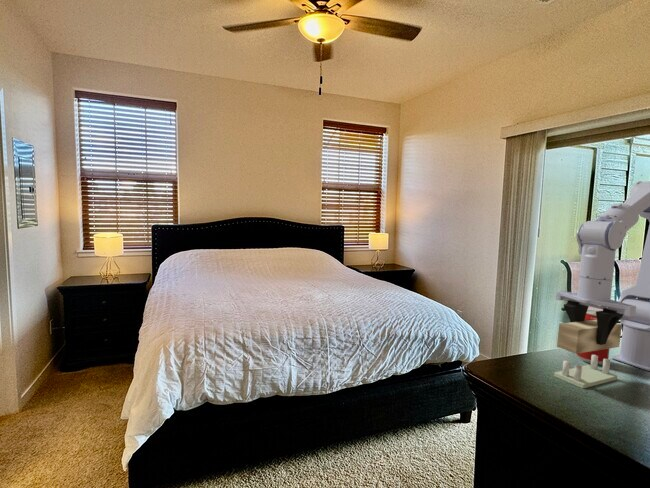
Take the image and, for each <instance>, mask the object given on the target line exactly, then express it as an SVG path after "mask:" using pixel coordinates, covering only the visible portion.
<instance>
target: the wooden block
mask: <svg viewBox="0 0 650 488" xmlns="http://www.w3.org/2000/svg"><path fill="white" fill-rule="evenodd" d="M622 329H623V324H620V323H619V322H617V323H616V325H615V326H614V328H613V329H612V331H611V333H610V335H609V337H608V339H607V342H606V344H603V345H599V344H597V341H596V339H597V330H598V325H597V320H589V321H580V322H564V323H559V324H558V332H557V333H558V335H557V342H556V343H557V344H556V347H557V348H559V349H562V350H565V351H567V352H570V353H572V354H575V355H577V354H578V353H584V352H590V351H597V350H603V349H609V350H610V349H615V348H620V345H621V343H620V341H621V337H622V334H621V333H622Z"/></svg>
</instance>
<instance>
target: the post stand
mask: <svg viewBox="0 0 650 488" xmlns="http://www.w3.org/2000/svg"><path fill="white" fill-rule="evenodd" d="M597 364H598V356H597V355H592V357H591V363H590V364H586V365H580V364H579V365H578V364H575V365H574V367H573V368H571V367H570V366H571V361H568V360H563V362H562V370H559V371H555V372H554V373H553V377H555V378H558V379H560V380H562V381H564V382H566V383H567V382H568V383H569V384H572V385H574V386H575V387H579V388H581V389H586V388H590V387H594V386H597V385H601V384H604V383H609V382H613V381H616V380H618V375H616V374H613V373H612V372H610V369H611V368H610V367H611V359H609V358H608V359H603V364H602V368H601V369H600V368H598V365H597Z"/></svg>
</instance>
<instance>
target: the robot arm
mask: <svg viewBox="0 0 650 488" xmlns="http://www.w3.org/2000/svg"><path fill="white" fill-rule="evenodd" d="M640 217H641V218H643V219H645V220H647V221H648V222H649V223H650V181H640V180H639V181H636V182H635V183H634V184H633V185H632V186H631V189H630V191H629V196H628V198H626V200H625V201H623V203H622V202H621V203H613V204H611V205H610V207H609V208H608V209H606V210H605V211H604V212H603V213H602V214H600V215H598V217H596V218H595V219H594V220H587V221H585V222H584V223H581V225H580V226H579V227H578V230H577V233H576V241H577V244H578V254H579V255H580V262H579V273H578V283H577V292H572V291H563V290H556V297H555V300H557V301H565V302H567V303H565V304H563V309H564V311H565V312H566V314H567V316H568V319H569V323H571V322H580V321H584V320H585V316H586V313H587V310H589V308H594V309H600V310H595V311H596V316H597V325H598V330H597V339H596V341H597V344H599V345H603V344H606V342H607V339H608V337H609V335H610V333H611V331H612V329H613V328H614V326H615V325H616V323H619V324H622V331H621V333H622V334H621V340H620V341H621V343H620V352H619V354H618V355H617V354H616V355H612V356H611V359H612V360H615V361H617V362H618V361H619V362H621V363H624V364H627V365H630V366H633V367H636V368H640V369H642V370H645V371H649V372H650V224H649V225H648V230H647V233H646V238H645V243H644V247H643V251H642V256H641V260H640V265H639V268H638V272H637V277H636V281H635V284H634V285H632V286H630V287H627V288H624V289H622V291H621V293H620V296H619V299H618V300H613V299H611V298H612V290H613V280H614V269H615V261H616V252H617V251H616V250H618V249H619V248H621V246H622V245H623V243H624V239H625V237H627V232H628V231H629V230H631V228H633V227H634V226H636V224H637V223H638V222H639V219H640ZM619 321H620V322H619Z"/></svg>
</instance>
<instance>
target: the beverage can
mask: <svg viewBox="0 0 650 488" xmlns="http://www.w3.org/2000/svg"><path fill="white" fill-rule="evenodd" d="M596 311H597V310H593V309H588V310H587V313H586V316H585V320H584V321H589V320H597V316H596ZM576 355H577V357H578V358H579V359H580V360H581V361H583V362H584V363H587V364H591V357H592V355H597V356H598V364H597V366H598V365H602V366H603V359H609V355H610V348H609V349H603V350H597V351H590V352H584V353H578V354H576Z"/></svg>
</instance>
